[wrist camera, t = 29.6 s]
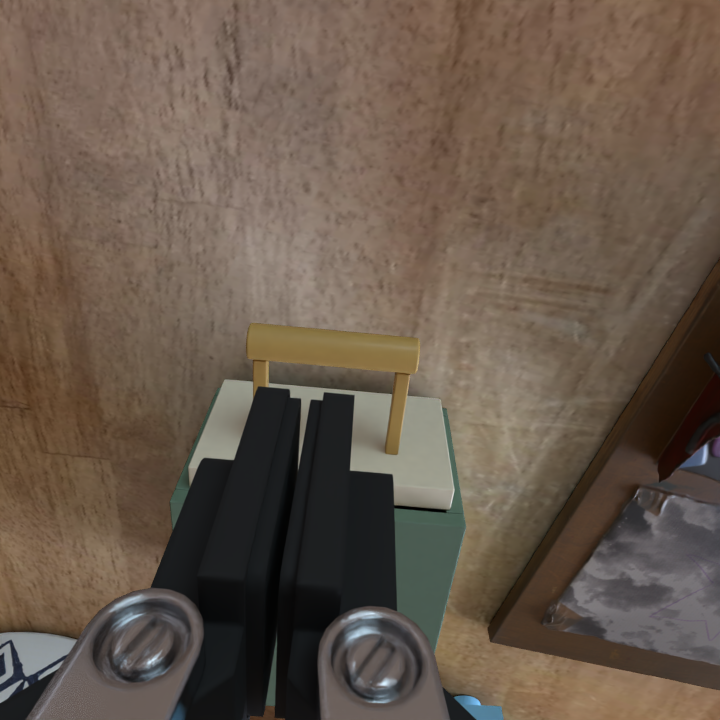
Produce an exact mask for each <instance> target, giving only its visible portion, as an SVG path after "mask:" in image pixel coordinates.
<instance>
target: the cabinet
mask: <svg viewBox="0 0 720 720" xmlns="http://www.w3.org/2000/svg"><path fill="white" fill-rule="evenodd" d="M220 389H221V388H218V389H217V391H216V393H215V396H214V398H213V400H212V402H211V405H210V407H209V410H208V412H207V414H206V417H205V419H204V421H203V424H202V426H201V428H200V431H199V433H198V436H197V438H196V440H195V443H194V445H193V447H192V450H191V452H190V455H189V457H188V459H187V462H186V464H185V466H184V469H183V471H182V474H181V476H180V478H179V481H178V483H177V485H176V488H175V490H174V493H173V495H172V497H171V500H170V511H171V521H172V532H173V529H174V527H175V524H176V522H177V519H178V516H179V514H180V511H181V509H182V506H183V504H184V501H185V499H186V496H187V493H188V491H189V488H190V485H189V471H188V466H189V464H190V462H191V459H192V457H193V454H194V452H195V449H196V447H197V445H198V442H199V440H200V437H201V435H202V433H203V430H204V428H205V425H206V423H207V420H208V418H209V416H210V413H211V411H212V408H213V406H214V403H215V401H216V399H217V396H218V394H219V391H220ZM442 412H443V418H444V425H445V431H446V438H447V444H448V451H449V458H450V464H451V471H452V477H453V484H454V490H455V491H454V495H453V499H452V504H451V508H450V510H444V509H433V508H428V511H419V510H407V509H396V508H394V516H395V551H396V587H397V612H400V613H402V614H404V615H405V616H406V617H408V618H409V619H411V620H412V621H413V622H415V623H416V624H417V625H418V626H419V627H420V629H421V630H422V631H423V632H424V634H425V635H426V636H427V637H428V640H429V642H430V645H431V647H432V650H433V652H434V654H435V650H436V646H437V642H438V638H439V634H440V630H441V626H442V622H443V618H444V614H445V610H446V606H447V602H448V598H449V594H450V590H451V586H452V582H453V578H454V574H455V570H456V566H457V562H458V558H459V554H460V550H461V546H462V542H463V538H464V534H465V530H466V524H465V518H464V511H463V505H462V499H461V493H460V487H459V481H458V475H457V468H456V462H455V456H454V450H453V444H452V438H451V432H450V426H449V420H448V415H447V409H446V408H442ZM276 657H277V638H276V644H275V650H274V656H273V663H272V669H271V675H270V681H269V687H268V693H267V699H266V706H275V688H276Z"/></svg>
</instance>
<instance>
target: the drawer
mask: <svg viewBox="0 0 720 720" xmlns="http://www.w3.org/2000/svg"><path fill="white" fill-rule="evenodd" d="M246 354H247V358H249V359H253V382H251V381H240V380H229V379H225V380H224V382H223V384H222V387H221V389H220V391H219V394H218V396H217V399H216V401H215V403H214V406H213V408H212V411H211V413H210V416H209V418H208V420H207V423H206V425H205V428H204V430H203V433H202V435H201V437H200V440H199V442H198V445H197V447H196V449H195V452H194V454H193V457H192V459H191V462H190V464H189V466H188V471H189V485H190V486H191V483H192V481H193V478H194V476H195V473H196V471H197V468H198V466H199V464H200V462H201V460H202V459H203V458H215V459H226V460H234V458H235V455H236V452H237V449H238V446H239V443H240V439H241V436H242V433H243V430H244V427H245V424H246V421H247V418H248V414H249V411H250V408H251V405H252V402H253V399H254V396H255V392H256V390H257V387H258V386H262V387H273V388H284V389H290V397H291V398H301V420H300V440H299V461H298V469H299V463H300V457H301V452H302V446H303V440H304V434H305V429H306V423H307V417H308V412H309V406H310V401H311V399H313V400H323V394H324V392H328V393H339V394H350V395H355V400H354V415H353V431H352V446H351V462H350V470H351V471H362V472H374V473H385V474H392V475H393V482H394V508H396V509H407V510H419V511H428V508H433V509H444V510H450V508H451V504H452V499H453V495H454V491H455V490H454V484H453V477H452V471H451V464H450V458H449V451H448V444H447V438H446V431H445V425H444V418H443V412H442V405H441V399H438V398H427V397H416V396H407V393H408V387H409V381H410V374H415V373H416V372H417V369H418V363H419V355H420V341H419V339H418V338H411V337H401V336H390V335H379V334H368V333H358V332H347V331H336V330H325V329H314V328H304V327H293V326H282V325H271V324H261V323H251V324H250V326H249V328H248V332H247V339H246ZM269 361H277V362H288V363H299V364H310V365H321V366H332V367H343V368H354V369H365V370H376V371H386V372H395V378H394V385H393V392H392V394H383V393H372V392H361V391H350V390H339V389H328V388H317V387H306V386H295V385H284V384H273V383H269Z"/></svg>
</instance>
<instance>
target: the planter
mask: <svg viewBox="0 0 720 720" xmlns="http://www.w3.org/2000/svg"><path fill="white" fill-rule="evenodd" d="M76 641H77V639H73V638H69V637H66V636H60V635H54V634H48V633H37V632H6V633H0V703H1V702H3V701H4V700H6V699H8V698H10V697H11V696H13V695H15V694H16V693H18V692H20V691H21V690H23V689H25V688H26V687H28V686H30V685H31V684H33V683H35V682H37V681H38V680H40V679H42V678H43V677H45V676H47V675H48V674H50V673H52V672H53V671H55V670H57V669H59V667H60V666H61V664H62V663H63V661H64V660H65V658H66V657H67V655H68V654H69V652H70V651H71V649H72V648H73V646H74V644H75V643H76Z"/></svg>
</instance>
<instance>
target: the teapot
mask: <svg viewBox="0 0 720 720" xmlns="http://www.w3.org/2000/svg"><path fill="white" fill-rule="evenodd" d="M454 698H455V699H456V700H457V701H458V702H459V703H460V704H461V705H462V706H463V707H464V708H465V709H466V710H467V711H468V712H469V713H470V714H471V715H472V716H473V717H474V718H475V719H476V720H503V715H502V709H501V706H484V705H481V704H480V702H479V701H478V700H477V699H476V698H474V697H471V696H456V697H454Z"/></svg>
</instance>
